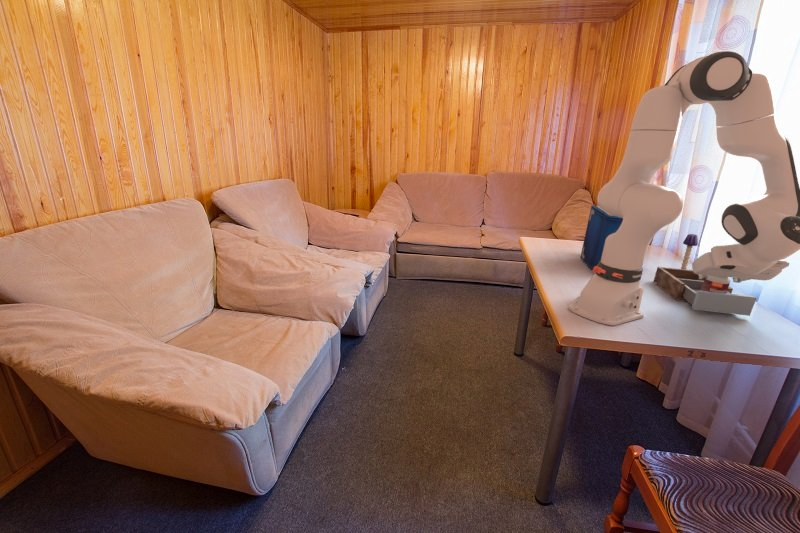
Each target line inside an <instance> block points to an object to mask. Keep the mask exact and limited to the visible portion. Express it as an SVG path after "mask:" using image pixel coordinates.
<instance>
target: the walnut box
mask: <svg viewBox="0 0 800 533" xmlns="http://www.w3.org/2000/svg"><path fill="white" fill-rule="evenodd" d="M698 275H699V274H695V273H694V272H693V269H687V268H686V269H681V268H676V267H675V268H674V267H661V266H657V268H656V271H655V275H654V279H653V283H655V284H656V285H657V286H658V287H659V288H660V289H662V290H663V291H664V292H666V293H667V294H668V295H670V297H671V298H673V299H675V300H676V301H683V302H688V301H687V300H686V299H684V298H683V297H682V293H683V290H684V287H685V283H683V282H682V281H680V280H679V279H689V280H700V281H704V279H699V276H698ZM677 278H679V279H677ZM727 291H728V292H729V293H731V294H733V291H734V289H733V288H732V286H731V287H730V286H729V287H728V290H727Z"/></svg>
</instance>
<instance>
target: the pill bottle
mask: <svg viewBox="0 0 800 533" xmlns="http://www.w3.org/2000/svg"><path fill="white" fill-rule="evenodd" d="M707 276H708V278H707V279H704V282H703V285H702V288H701V291H708V292H718V293H726V292H727V290H728V287H730V284H731V280H730V277H722V276H711V275H707Z"/></svg>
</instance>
